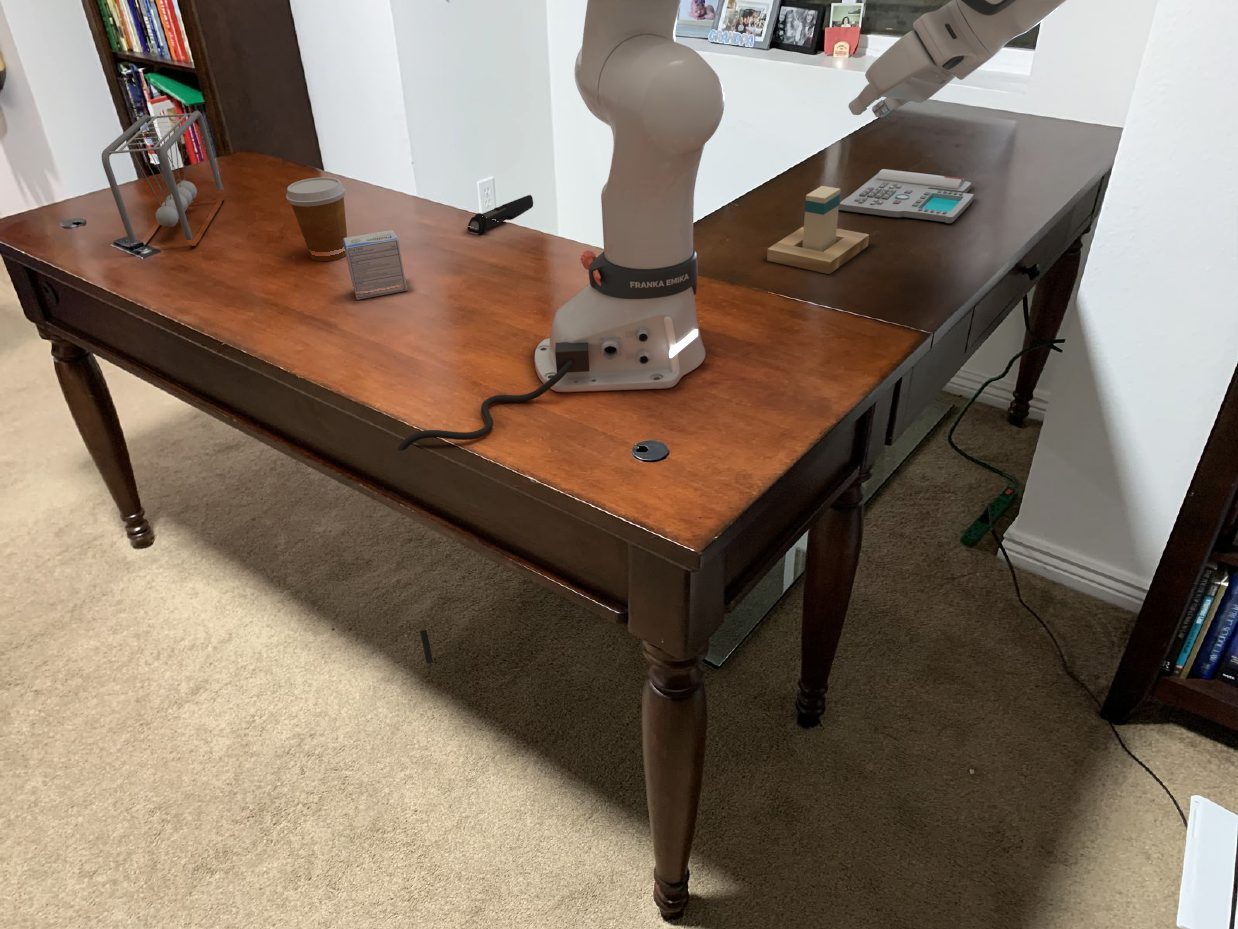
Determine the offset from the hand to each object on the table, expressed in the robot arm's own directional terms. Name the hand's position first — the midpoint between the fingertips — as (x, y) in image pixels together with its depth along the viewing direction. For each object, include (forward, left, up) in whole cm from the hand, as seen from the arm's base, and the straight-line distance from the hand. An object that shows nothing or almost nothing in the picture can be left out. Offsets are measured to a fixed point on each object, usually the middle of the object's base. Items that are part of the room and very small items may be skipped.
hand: (864, 112), depth 126 cm
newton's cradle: (-108, +60, -25) cm, 126 cm away
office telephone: (+26, +31, -25) cm, 48 cm away
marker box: (0, +12, -24) cm, 27 cm away
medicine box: (-70, +16, -25) cm, 76 cm away
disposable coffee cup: (-79, +35, -25) cm, 90 cm away
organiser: (0, +11, -24) cm, 27 cm away
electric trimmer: (-49, +43, -25) cm, 70 cm away
